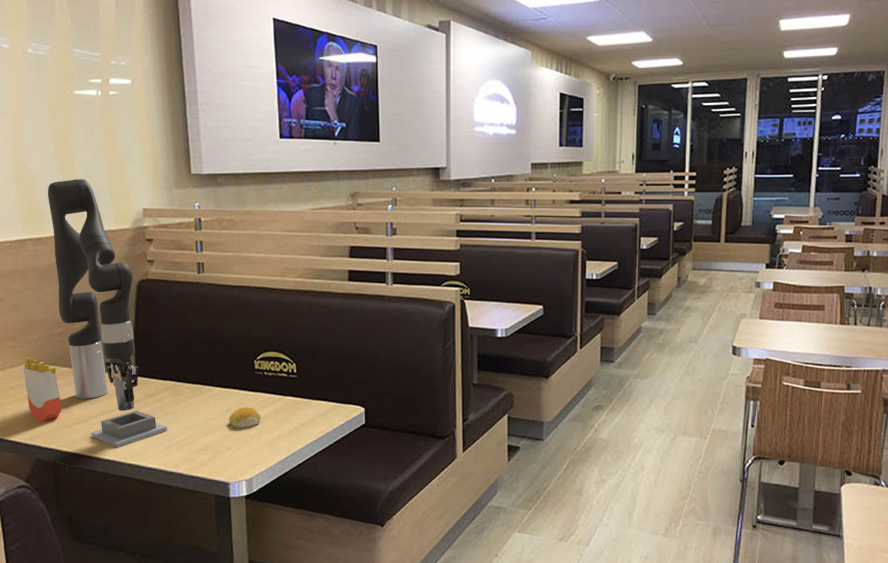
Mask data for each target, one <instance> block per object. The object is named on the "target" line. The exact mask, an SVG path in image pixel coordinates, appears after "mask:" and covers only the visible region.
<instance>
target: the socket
mask: <svg viewBox="0 0 888 563" xmlns="http://www.w3.org/2000/svg"><path fill="white" fill-rule="evenodd" d="M100 424H101V425H100V426H101V429H99V430H96V431H93V432H91V437H92V438H96V439H97V440H100V441H102V442H105V443H106V444H109V445H111V446H113V445H114V447H115V448H119V446H120V447H123V446H126V445H128V444H131V442H132V443H134V441H135V442H137V441H140V440H143V439H145V438H149V437H152V436H156V435H158V434H160V433H161V434H162V433H164V432H166V431H168V427H167V426H165V425H163V424H160V423H158V422H156V416H153V415H150V414H147V413H144V412H141V411H138V410H134V411H129V412H128V413H124V414H120V415H118V416H114V417H111V418H107V419H104V420H101V421H100ZM125 444H126V445H125ZM122 445H123V446H122Z"/></svg>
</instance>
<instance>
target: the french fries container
mask: <svg viewBox="0 0 888 563" xmlns="http://www.w3.org/2000/svg"><path fill="white" fill-rule="evenodd" d="M24 362H25V363H24V367H23V374H24V380H25V381H24V382H25V389H26V395H27V400H28V408H29V410H30V412H31V414H32V415H33V417H34V418H35V419H37V420H40V421H41V422H42V421H43V422H45V421H47V420H51V419H55V418H57V417H60V414H61V412H62V404H61V397H60V390H59V386H58V380H57V375H56V370H57V369H56V367H51V368H50V365H47V364H45V362H44V361H38V359H34V358H32V357H31V356H30V357H29V356H28V357H24Z"/></svg>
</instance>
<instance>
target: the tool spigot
mask: <svg viewBox="0 0 888 563" xmlns="http://www.w3.org/2000/svg"><path fill="white" fill-rule="evenodd" d="M123 377H124V378H125V377H127V375H126V376H123ZM114 378H115V386H114V388H115V387H116V389H115V396H116V395H117V398H116V401H117V402H116V403H117V410H118V411H123V412H125V411H130V410H132V409H134V408H135V400H134V401H133V402H129V403H127V402H125V397H124V388H123V384H122V382H121V381H120V380H119V376H118V373H114ZM126 384H127V380H126Z"/></svg>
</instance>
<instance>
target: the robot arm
mask: <svg viewBox="0 0 888 563" xmlns="http://www.w3.org/2000/svg"><path fill="white" fill-rule="evenodd" d="M47 197H48V198H47V199H48V204H49V211H50V214H51V215H50V216H51V222H52V227H53V228H52V229H53V240H54V256H55V265H56V266H55V267H56V272H57V273H56V274H57V280H58V282H57V283H58V311H59V312H58V313H59V316H60V317H59V318H60V319H61V320H62V322H63V323H65V324H75V323H83V322H84V323H85V322H87V323H86V325H85V326H83V328H80V329H79V330H77V331H75V332H73V333H72V334H70V335H69V336H68V344H69V345H68V347H69V353H70V360H71V361H70V362H71V366H72V367H71V368H72V369H71V370H72V376H73V383H74V384H73V385H74V392H75V398H77V399H81V400H82V399H84V400H85V399H93V398H94V399H95V398H97V397H101V396H105V395H106V394H108V385H107V377H108V379H109V383H110V384H113V387H114V388H115V390H116V387H115V378H114V373H118V376H119V380H120V381H121V382H122V384H123V388H124V397H125V402H127V403H129V402H133V401H134V402H135V395H134V388H135V387H138V381H139V366H138V365H136V366H133V362H132V359H131V357H132V356H133V355H135V353H136V348H135V339H134V331H133V326H132V322H131V314H130V295H131V291H132V290H131V289H132V284H133V278H134V277H133V271H132V269H131V267H130V265H128V264H127V263H125V262H115V263H113V262H114V261H115V259H116V254H115V250H114V249H113V246H112V244H111V241H110V240H109V238H108V236H107V232H106V231H105V228H104V223H103V220H102V217H101V213H100V212H101V211H100V209H99V206H98V202H97V199H96V196H95V193H94V191H93V188H92V186H91V184H90V183H89V182H88V180H86V179H83V178H81V179H80V178H79V179H69V180H62V181H61V180H60V181H54V182H51V183H50V184H49V185H48V188H47ZM85 212H86V217H85V221H84V223H83V226H82V227H81V231H80V232H78V231H77V230H76V229H74V227H72V225H71V224H70V223H69V222H68V220H67V219H66V216H67V215H70V214H71V215H72V214H79V213H85ZM86 274H88V275H87V276H88V278H87V279H88V284H89V287H90V288H91V289H92V290H93V291H94V292H97V293H106V292H112V291H113V292H114V291H116V293H115V294H114V296H113V297H111V298H108V299H106V300H103V301H101V302H100V304H99V303H98V299H97V296H96V294H95V293H94V292H93V291H85V292H75V293H73V292H74V290H75V288H76V286H77V285H78V284H79V283H80V281H81V280H82V279H83V278H84V276H85V275H86ZM98 304H99V305H98ZM99 313H100V316H99ZM99 317H100V318H99ZM99 321H100V322H101V330H100V322H99ZM105 358H106V359H109V360H108V361H105ZM105 368H106V369H105ZM106 373H107V376H106ZM126 375H127V377H125V378H124V377H123V376H126ZM126 380H127V384H126ZM115 396H116V397H115V398H116V399H117V395H116V394H115Z"/></svg>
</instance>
